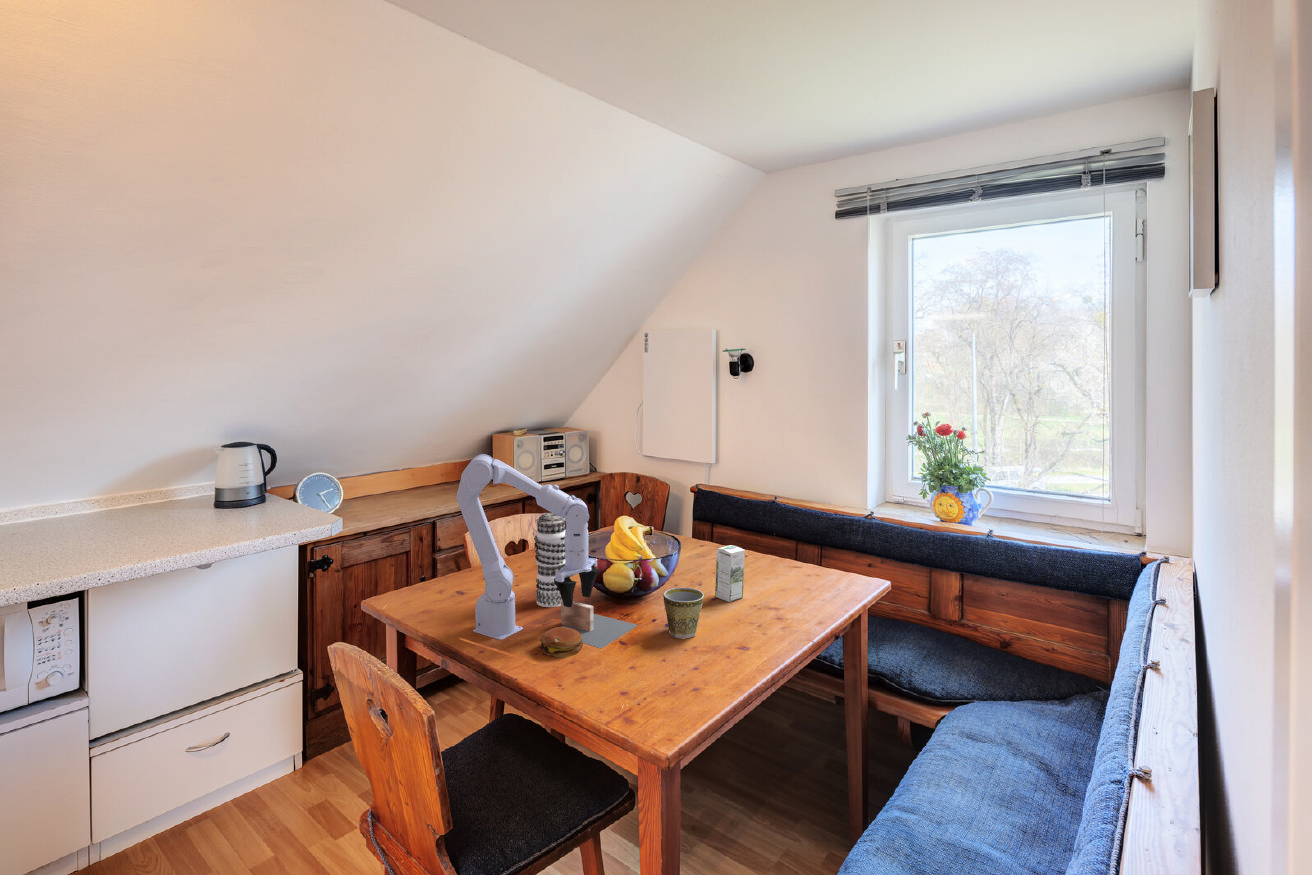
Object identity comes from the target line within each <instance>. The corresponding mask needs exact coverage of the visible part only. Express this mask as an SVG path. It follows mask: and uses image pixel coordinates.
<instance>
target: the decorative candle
mask: <svg viewBox="0 0 1312 875" xmlns="http://www.w3.org/2000/svg"><path fill="white" fill-rule="evenodd" d="M535 521H536V523H537V526H536V529H537V530H536V535H534V539H533V540H534V541H535V542H534V547H535V550H534V553H535V555H534V556H535V557H534V558H535V564H537V572H536V579H535V583H536V585H535V587H536V591H535V594H536V596H535V599H536V604H537V605H538V606H540V607H545V608H555V607H561V601H562V597H561V594H560V592H559V590H558V588H557V586H556V584H555V583H554V578H555V573H557V572H559V571H560V570H561V569H562V568H563V567H564V566H565V530H566V521H565V518H564V517H559V516H557V515H555V514H554V513H552V512H544V513H541V514H540V515H539V517H538V518H537V519H536V520H535Z"/></svg>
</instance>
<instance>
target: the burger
mask: <svg viewBox="0 0 1312 875" xmlns="http://www.w3.org/2000/svg"><path fill="white" fill-rule="evenodd" d="M539 642H540V644H541V645H540V649H541V650H543V651H542V652H543V654H544V655H546V656H549V657H550V656H552V657H553V658H559V659H560V658H568V657H572V656H575V655H578V654H579V652H580V651H581V650H582V649H583V646H584V644H583V641H582V636H581V634H580V633H579V632H578V631H576V630H574V629H571V628H567V627H561V626H558V627H557V626H556V627H553V628H550V629H548V630H547V631H545V632H544V633H543V634H542V635H541V636H540V638H539Z"/></svg>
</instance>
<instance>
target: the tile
mask: <svg viewBox="0 0 1312 875" xmlns="http://www.w3.org/2000/svg"><path fill="white" fill-rule="evenodd" d="M593 614H594V605H591V604H585V603H582V602H578V601H574V600H573V604H572V607H566V606H564V605H563V601H561V606H560V624H561V625H567V626H571V627H575V628H578V629H582V630H586V631H589V632H590V631H592V630H593Z"/></svg>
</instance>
